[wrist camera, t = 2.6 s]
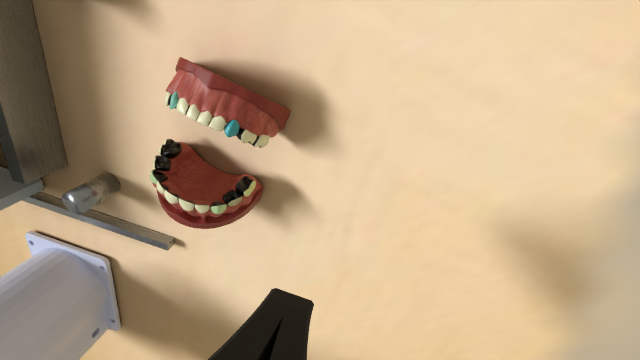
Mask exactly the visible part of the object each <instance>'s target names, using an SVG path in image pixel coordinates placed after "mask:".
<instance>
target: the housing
mask: <svg viewBox="0 0 640 360" xmlns="http://www.w3.org/2000/svg"><path fill="white" fill-rule="evenodd" d="M43 189H44V187H43V183H42V180H39V179H37V180H35V181H32V182H30V183H28V184H26V185H25V184H22V183H19V182H16V181H13V180H12V177H11V174H10V171H9V169H6V168H3V167H0V210H2V209H4V208H6V207H9V206H11V205H13V204H15V203H17V202H19V201H21V200H23V199H25V198H27V197H29V196H31V195H33V194H35V193H37V192H39V191H41V190H43Z"/></svg>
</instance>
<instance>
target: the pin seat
mask: <svg viewBox="0 0 640 360" xmlns="http://www.w3.org/2000/svg"><path fill="white" fill-rule="evenodd" d="M0 144H1V147H2V150H3V153H4V156H5V159H6V162H7V165H8V168H9V171H10V174H11V177H12V180H13V181H16V182H19V183H22V184H25V185H26V184H28V183H30V182H32V181H35V180H37V179H39V178H41V177H43V176H46V175H48V174H50V173H52V172H54V171H57V170H59V169H61V168H63V167H65V166H68V165H67V161H66V156H65V152H64V147H63V143H62V138H61V133H60V129H59V124H58V120H57V115H56V111H55V106H54V102H53V97H52V92H51V88H50V83H49V79H48V74H47V70H46V65H45V61H44V56H43V52H42V47H41V42H40V38H39V33H38V29H37V24H36V20H35V15H34V11H33V6H32V1H31V0H0ZM119 190H120V183H119V181H118V180H117V178H116V177H115V176H113V175H112V174H110V173H103V174H101V175H99V176H97V177H95V178H93V179H92V180H90V181H88V182H86V183H84V184H82V185H80V186H78V187H77V188H75V189H73V190H71V191H69V192H67V193H65V194H64V195H63V196H62V200H61V199H58V198H55V197H52V196H49V195H46V194H43V193H40V192H37V193H35V194H33V195H31V196H29V197H27V198H25V199H23V201H25V202H28V203H31V204H34V205H37V206H40V207H43V208H46V209H49V210H52V211H54V212H57V213H60V214H63V215H66V216H69V217H72V218H75V219H78V220H81V221H83V222H86V223H89V224H92V225H95V226H98V227H101V228H104V229H107V230H110V231H113V232H115V233H118V234H121V235H124V236H127V237H130V238H133V239H136V240H139V241H142V242H144V243H147V244H150V245H153V246H156V247H159V248H162V249H165V250H169V249H170V248H171V247H172V246H173V245H174V244H175V242H174V238H173V237H170V236H167V235H165V234H162V233H159V232H156V231H153V230H150V229H147V228H144V227H141V226H138V225H135V224H132V223H129V222H126V221H123V220H120V219H117V218H114V217H111V216H108V215H105V214H102V213H100V212H97V211H94V210H91V208H93V207H94V206H96V205H97V204H99V203H101V202H102V201H104V200H106V199H107V198H109V197H110V196H112V195H114V194H115V193H117V192H118V191H119Z"/></svg>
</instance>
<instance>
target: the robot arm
mask: <svg viewBox="0 0 640 360" xmlns="http://www.w3.org/2000/svg"><path fill="white" fill-rule="evenodd" d="M25 237H26V240H27V243H28V246H29V249H30V252H31V255H32V257H30V258H29V259H27V260H26V261H24V262H23V263H21V264H20V265H18V266H16V267H15V268H13V269H12V270H10V271H9V272H7V273H6V274H4V275H3V276H1V277H0V360H79V359H80V358H81V357H82V356H83V355H84V354H85V353H86V352H87V351H88V350H89V349H90V348H91V347H92V346H93V345H94V343H95V342H96V341H97V340H98V339H99V338H100V337H101V336H102V335H103V334H104V333H105V332H106V331H107V330H108V329H112V330H115V331H118V330H119V329H120V328H121V323H120V318H119V312H118V306H117V301H116V295H115V289H114V284H113V278H112V272H111V266H110V262H109V260H108V259H107V258H106V257H103V256H101V255H98V254H95V253H92V252H89V251H87V250H84V249H81V248H78V247H75V246H72V245H70V244H67V243H64V242H61V241H58V240H56V239H53V238H50V237H47V236H44V235H42V234H39V233H36V232H33V231H29V232H28V233H26V234H25ZM313 306H314V304H313V302H312V301H311V300H308V299H305V298H302V297H300V296H297V295H294V294H291V293H288V292H285V291H283V290H280V289H277V288H274V289H272V290H271V291H270V293H269V294H268V296H267V297H266V298H265V300H264V301H263V302H262V303H261V305H260V306H259V307H258V308H257V309H256V311H255V312H254V313H253V314H252V315H251V316H250V317H249V319H248V320H247V321H246V322H245V323H244V324H243V325H242V326H241V327H240V328H239V329H238V330H237V331H236V332H235V333H234V334H233V336H232V337H231V338H230V339H229V340H228V341H227V342H226V343H225V344H224V345H223V346H222V347H221V348H220V349H218V350H217V351H216V352H215V353H214V354H213V355H212V356H211V357H210V358H209V359H208V360H307V343H308V333H309V325H310V319H311V314H312V310H313Z"/></svg>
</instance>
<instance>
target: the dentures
mask: <svg viewBox="0 0 640 360" xmlns="http://www.w3.org/2000/svg"><path fill="white" fill-rule="evenodd" d="M176 72H177V73H176V75H175V77H174V78H173V80H172V81H171V83H170V84H169V86H168V87H167V89H166V91H167V94H166V96H165V104H166V106H168V105H170V109H173V108H176V109H177V111H178V112H180V113H182V114H184V115H186V114H187V115H186V116H187V117H189V118H191V119H193V120H195V121H196V120H197V118H198V116H199V114H200V113H201V112H202V113H201V114H200V116H199V118H198V120H197V122H199V123H201V124H203V125H205V126H208V125H209V127H211V128H212V129H215V130H217V131H222V130H223V129H224V131H225V134H226V135H227V137H232V136H235V135H236V136H237V137H238V138H239V139H240V140H241V141H242V142H243V143H250V144H252V145H253V146H254V147H257V146H259V147H260V148H262V147H264V146H266V145H267V144H268V142H269V139H270V137H274V136H275V135H276V134H277V133H278V132H279V130H283V128H284V126H285V124H286V122H287V119H288V117H289V115H290V112H291V111H290V110H289V109H287V108H285V107H283V106H281V105H279V104H277V103H275V102H272V101H270V100H268V99H266V98H264V97H262V96H260V95H258V94H256V93H254V92H252V91H250V90H248V89H246V88H244V87H242V86H240V85H238V84H236V83H234V82H231V81H229V80H227V79H225V78H223V77H221V76H219V75H217V74H215V73H213V72H211V71H209V70H207V69H205V68H203V67H200V66H198V65H196V64H194V63H192V62H190V61H188V60H186V59H184V58H182V57H180V58H179V60H178V63H177V65H176ZM212 117H213V119H212ZM226 123H227V124H226ZM225 124H226V126H225ZM224 127H225V128H224ZM159 154H160V155H161V156H159V155H158V156H155V158H154V162H153V167H154V169H153V170H152V172H151V176H150V179H151V181H152V183H153V185H154V186H155V187H156V188H157V193H158V197H159V201H160V203H161V206H162V208H163V209H164V210H165V212H166V213H167V214H168V215H169V216H170V217H171V218H172V219H174V220H175V221H177V222H178V223H180V224H183V225H185V226H188V227H192V228H201V229H209V228H217V227H221V226H224V225H228V224H230V223H233V222H234V221H236V220H238V219H240V218H242V217H243V216H244V215H246V214H247V213H248V212H249V211H250V210H251V209H252V208H253V207H254V206H255V205H256V204H257V202H258V201H259V200H260V198H261V196H262V193H263V186H262V185H261V184H260V183H259V182H258V181H257V180H256V179H255V178H254V177H253V176H251V175H248V174H243V175H231V174H227V173H225V172H222V171H220V170H218V169H216V168H214V167H212V166H211V165H209V164H208V163H206V162H205V161H204V160H203V159H202V158H201V157H199V156H198V155H197V153H196V152H195V151H194V150H193V148H192V147H190V146H189V145H187V144H185V143H183V142H175V141H174V140H172V139H166V140H165V142H164V143H163V145H161V146H160V149H159Z"/></svg>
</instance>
